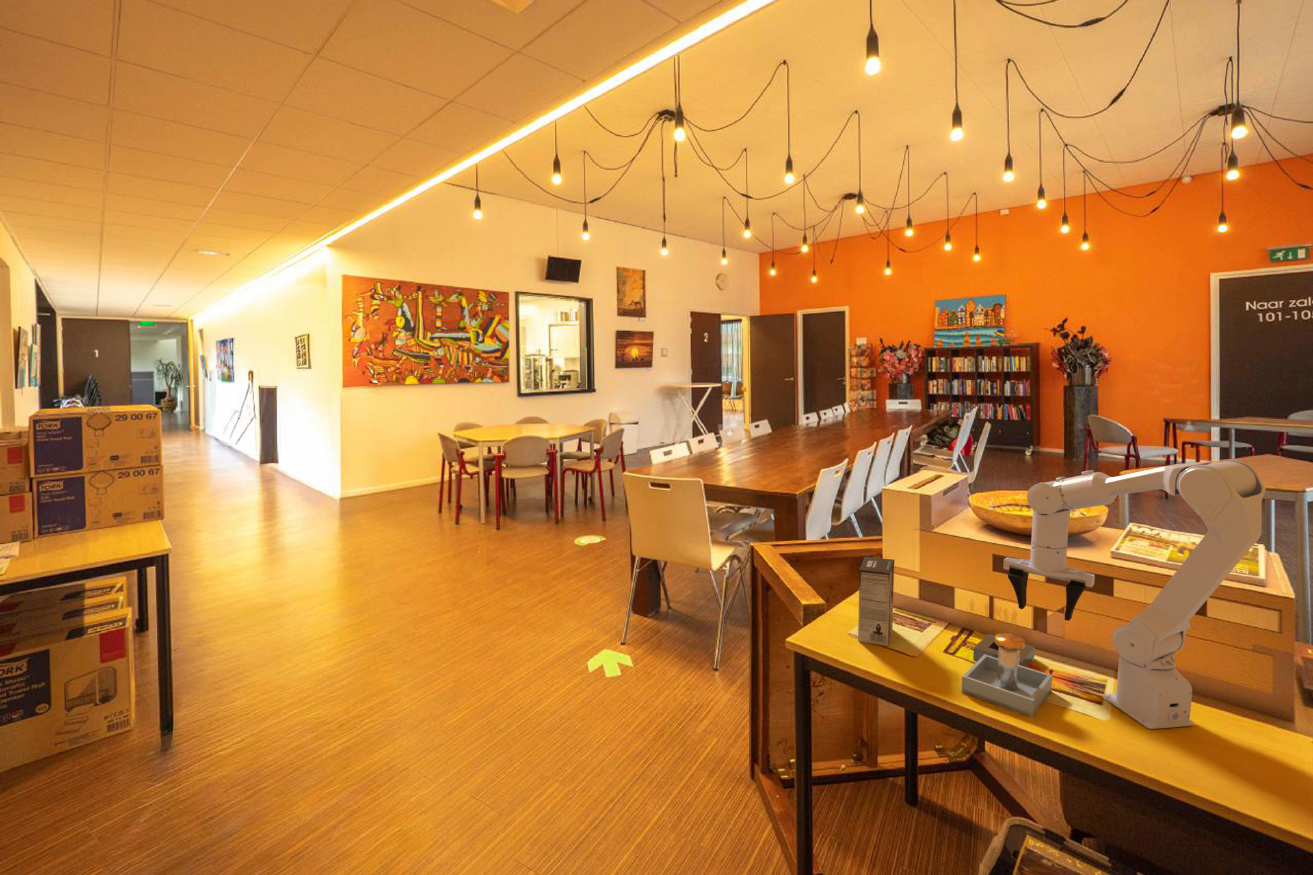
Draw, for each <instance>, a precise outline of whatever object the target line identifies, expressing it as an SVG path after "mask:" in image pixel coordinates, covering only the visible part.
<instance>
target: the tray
mask: <svg viewBox="0 0 1313 875" xmlns="http://www.w3.org/2000/svg"><path fill="white" fill-rule="evenodd" d="M961 678H962V679H961V693H963V694H965V695H968V696H971V697H973V698H976V699H980V700H982V701H984V702H988V703H990V704H993V705H996V706H998V707H1002V708H1005V709H1006V710H1007V709H1008V710H1010V711H1012V712H1015V713H1018V714H1021V715H1024V716H1026V717H1028V718H1031V719H1032V718H1034V716H1035V715H1036V713H1037V712H1039V709H1040V708H1041V706H1042V705H1043V703H1045V701H1046V699H1047V698H1048V697H1049V695H1050V693H1051V692H1052V685H1053V675H1052V674H1050V673H1046V672H1042V671H1040V670H1036V669H1033V668H1030V667H1024V666H1021V665H1019V674H1018V689H1017V690H1016V691H1008V690H1005V689H1002V688H1000V687H998V685H997V679H998V658H995V657H992V656H988V655H985V654H984V655H983V656H982V657H981V658H980V659H979V660H978V661H976V662H975V663H974V664H973V665H972V666H971V667H970V668H969V669H968V670H967V671H966V672H965V673H964V674H963V675H962V677H961Z"/></svg>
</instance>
